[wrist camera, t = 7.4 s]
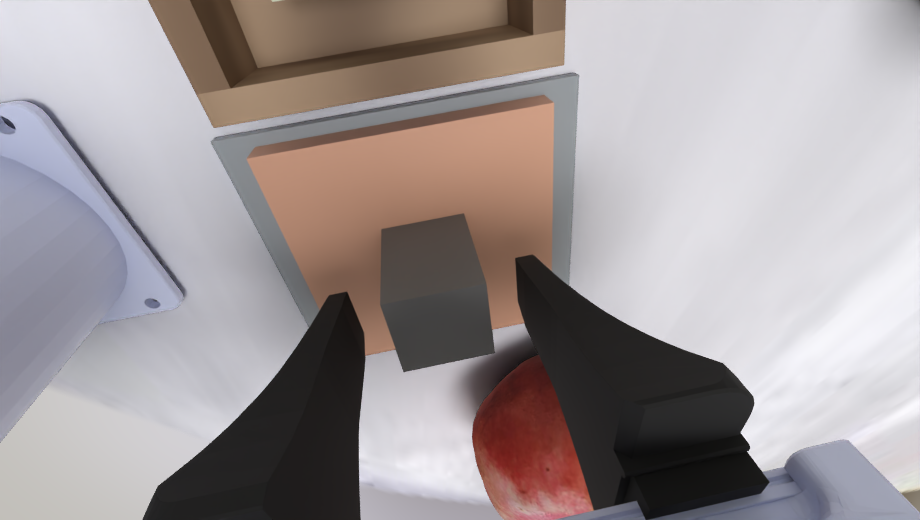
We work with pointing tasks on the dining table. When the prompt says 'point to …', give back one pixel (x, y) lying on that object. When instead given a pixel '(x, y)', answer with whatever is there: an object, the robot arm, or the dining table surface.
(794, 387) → the dining table surface
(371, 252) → the lid
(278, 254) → the mat
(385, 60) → the box
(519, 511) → the fruit
